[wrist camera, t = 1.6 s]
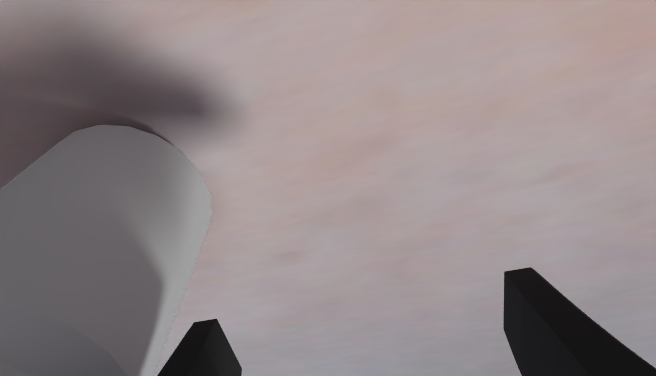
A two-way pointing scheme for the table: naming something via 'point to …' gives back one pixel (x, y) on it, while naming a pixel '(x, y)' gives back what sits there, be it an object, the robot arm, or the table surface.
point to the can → (97, 253)
